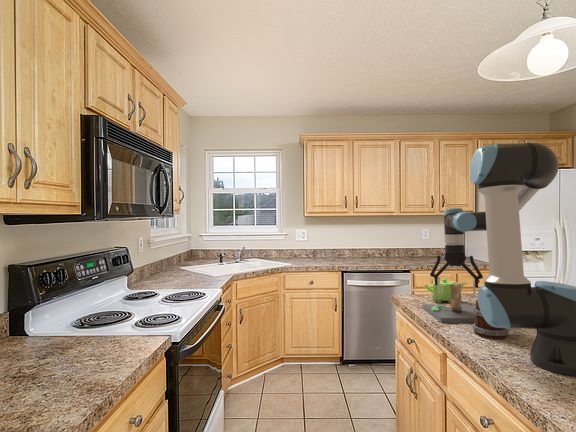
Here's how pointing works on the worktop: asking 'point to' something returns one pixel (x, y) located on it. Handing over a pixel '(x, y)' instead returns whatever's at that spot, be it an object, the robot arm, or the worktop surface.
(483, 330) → the mug
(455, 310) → the peg key
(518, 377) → the worktop surface
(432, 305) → the board
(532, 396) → the worktop surface
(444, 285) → the kettle
